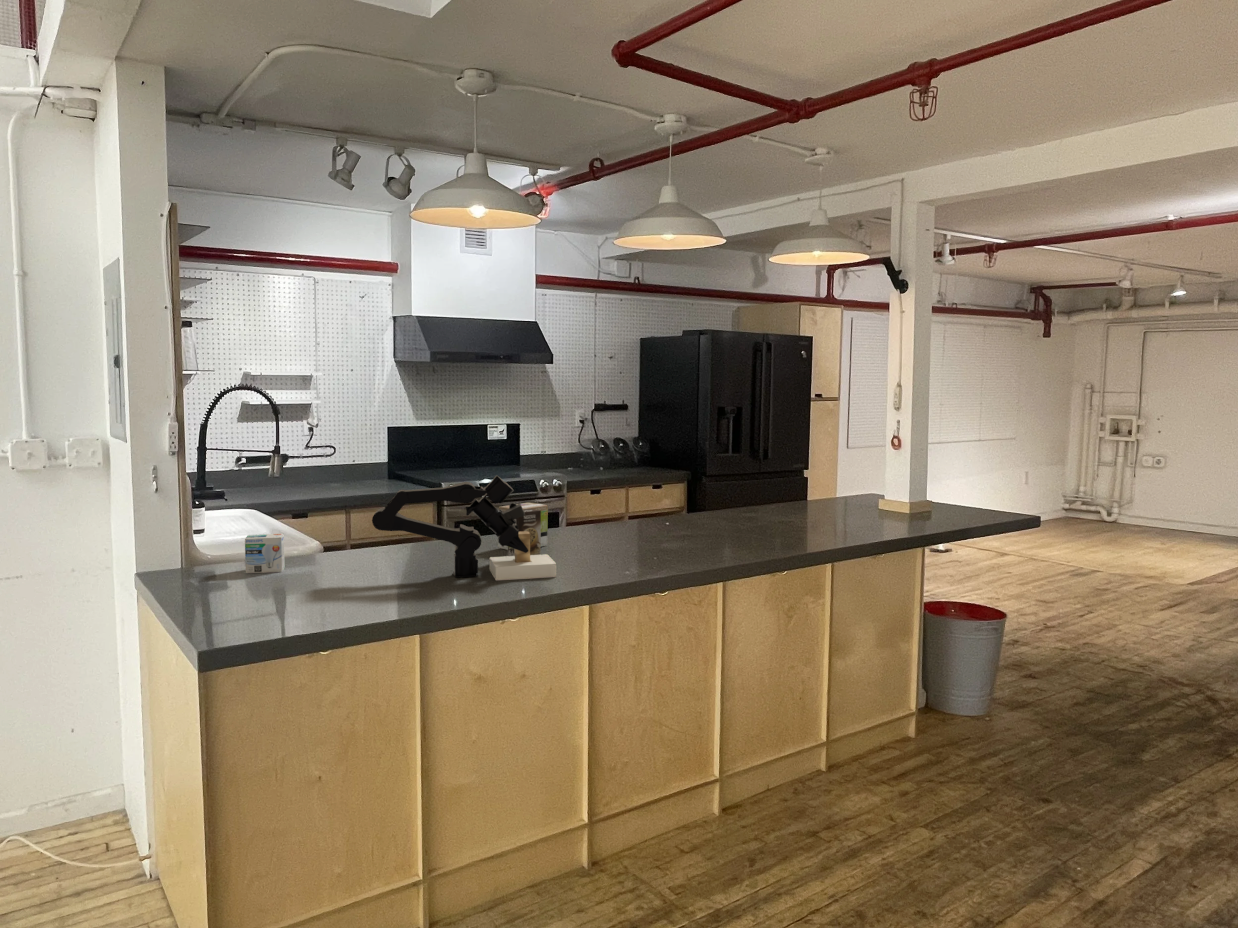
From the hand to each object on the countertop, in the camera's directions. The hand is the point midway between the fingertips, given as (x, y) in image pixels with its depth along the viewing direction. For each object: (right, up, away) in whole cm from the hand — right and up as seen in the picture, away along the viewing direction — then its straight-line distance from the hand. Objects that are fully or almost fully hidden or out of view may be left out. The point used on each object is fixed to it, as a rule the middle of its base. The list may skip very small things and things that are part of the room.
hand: (527, 550), depth 268 cm
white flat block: (-1, -7, +1) cm, 7 cm away
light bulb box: (-80, -7, +2) cm, 80 cm away
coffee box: (-3, -5, +21) cm, 22 cm away
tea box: (-5, -3, +41) cm, 41 cm away
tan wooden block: (-1, -7, +1) cm, 7 cm away
